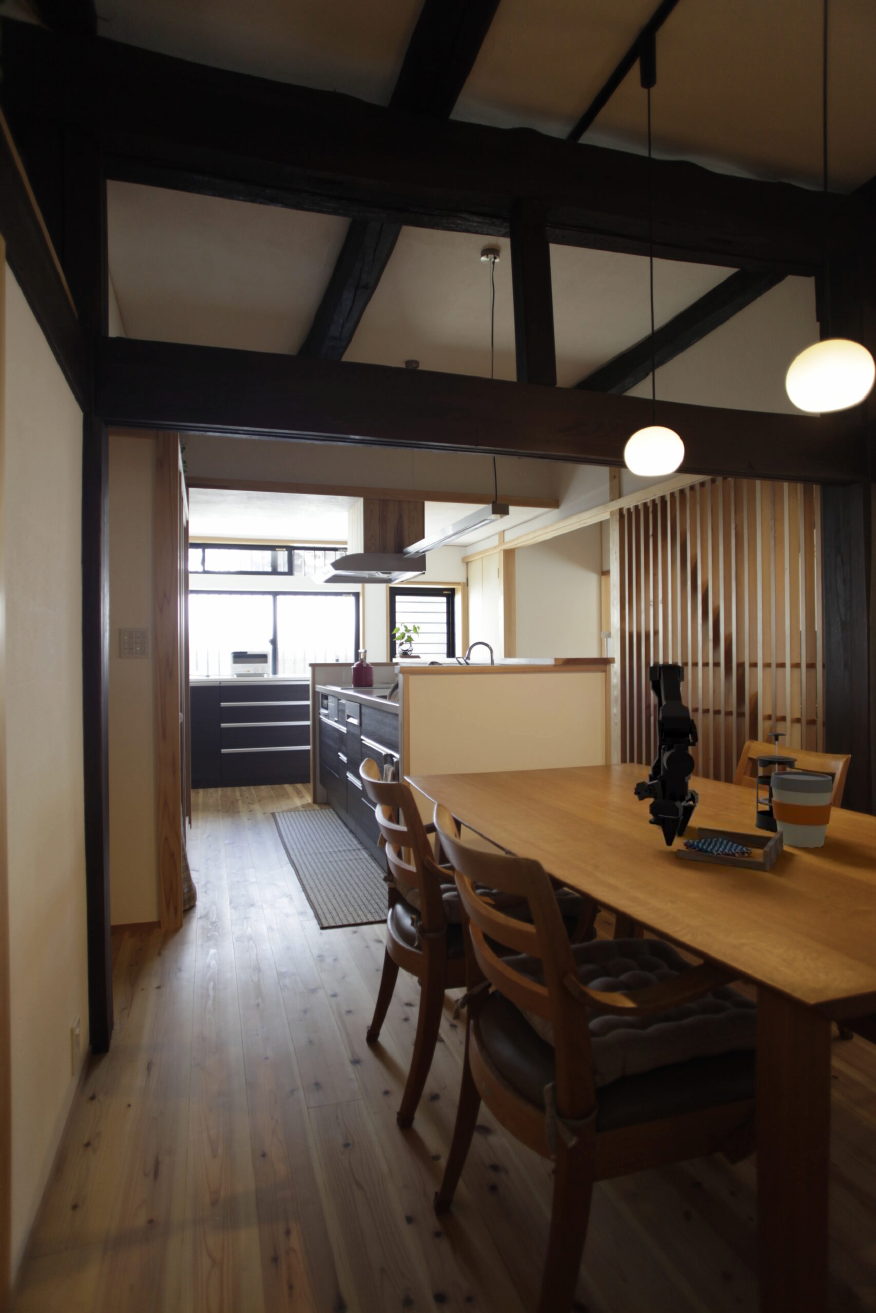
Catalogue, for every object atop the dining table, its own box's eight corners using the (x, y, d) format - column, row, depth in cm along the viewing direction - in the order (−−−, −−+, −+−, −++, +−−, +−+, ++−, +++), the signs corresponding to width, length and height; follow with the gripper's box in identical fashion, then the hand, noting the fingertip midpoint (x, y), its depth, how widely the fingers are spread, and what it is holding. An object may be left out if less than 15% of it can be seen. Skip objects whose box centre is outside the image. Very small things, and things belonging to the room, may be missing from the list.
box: (699, 837, 166) (699, 820, 166) (783, 849, 156) (783, 830, 156) (676, 857, 150) (676, 837, 150) (768, 871, 140) (768, 850, 140)
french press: (801, 834, 170) (802, 735, 170) (758, 831, 172) (758, 734, 172) (793, 823, 181) (793, 730, 181) (752, 820, 184) (752, 729, 184)
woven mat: (755, 858, 151) (755, 848, 151) (710, 862, 148) (710, 852, 148) (723, 845, 161) (723, 836, 161) (681, 848, 158) (681, 839, 158)
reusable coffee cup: (782, 832, 171) (782, 769, 171) (841, 842, 162) (841, 775, 162) (761, 842, 162) (761, 775, 162) (821, 853, 153) (822, 782, 153)
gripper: (650, 761, 172) (650, 827, 172) (625, 772, 156) (625, 845, 156) (699, 765, 166) (698, 833, 166) (678, 777, 150) (678, 853, 150)
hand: (674, 840), depth 160 cm, fingers open, 9 cm apart
